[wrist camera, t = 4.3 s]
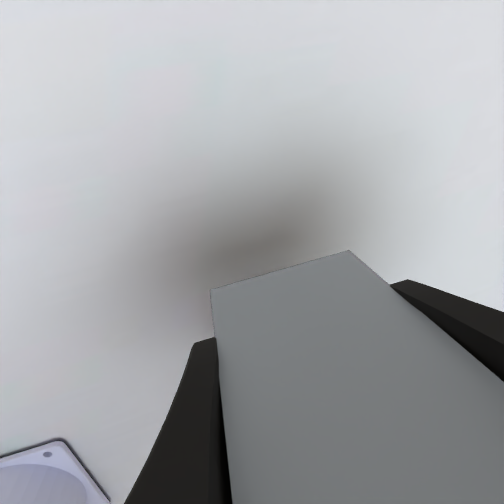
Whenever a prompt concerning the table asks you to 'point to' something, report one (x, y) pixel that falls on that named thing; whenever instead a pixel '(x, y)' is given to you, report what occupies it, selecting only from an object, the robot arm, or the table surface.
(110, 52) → the table surface
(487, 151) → the table surface
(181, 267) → the table surface
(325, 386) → the domino
